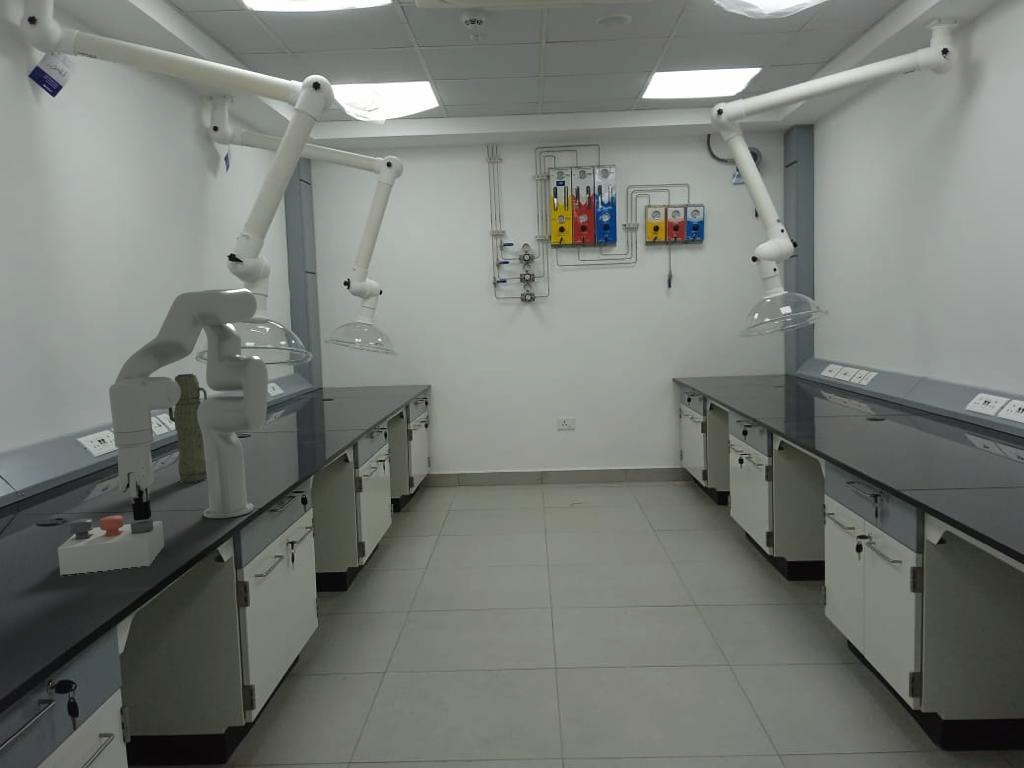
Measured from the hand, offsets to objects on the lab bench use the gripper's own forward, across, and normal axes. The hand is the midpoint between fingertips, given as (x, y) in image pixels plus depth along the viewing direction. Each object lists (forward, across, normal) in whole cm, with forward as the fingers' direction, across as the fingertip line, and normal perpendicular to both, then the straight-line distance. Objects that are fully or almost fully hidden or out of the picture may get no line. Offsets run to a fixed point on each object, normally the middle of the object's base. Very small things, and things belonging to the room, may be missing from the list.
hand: (142, 518), depth 158 cm
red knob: (+5, +1, -6) cm, 8 cm away
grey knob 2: (+6, +1, 0) cm, 6 cm away
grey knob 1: (+4, +1, -12) cm, 13 cm away
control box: (+9, +1, -6) cm, 11 cm away
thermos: (+10, -79, -4) cm, 80 cm away
